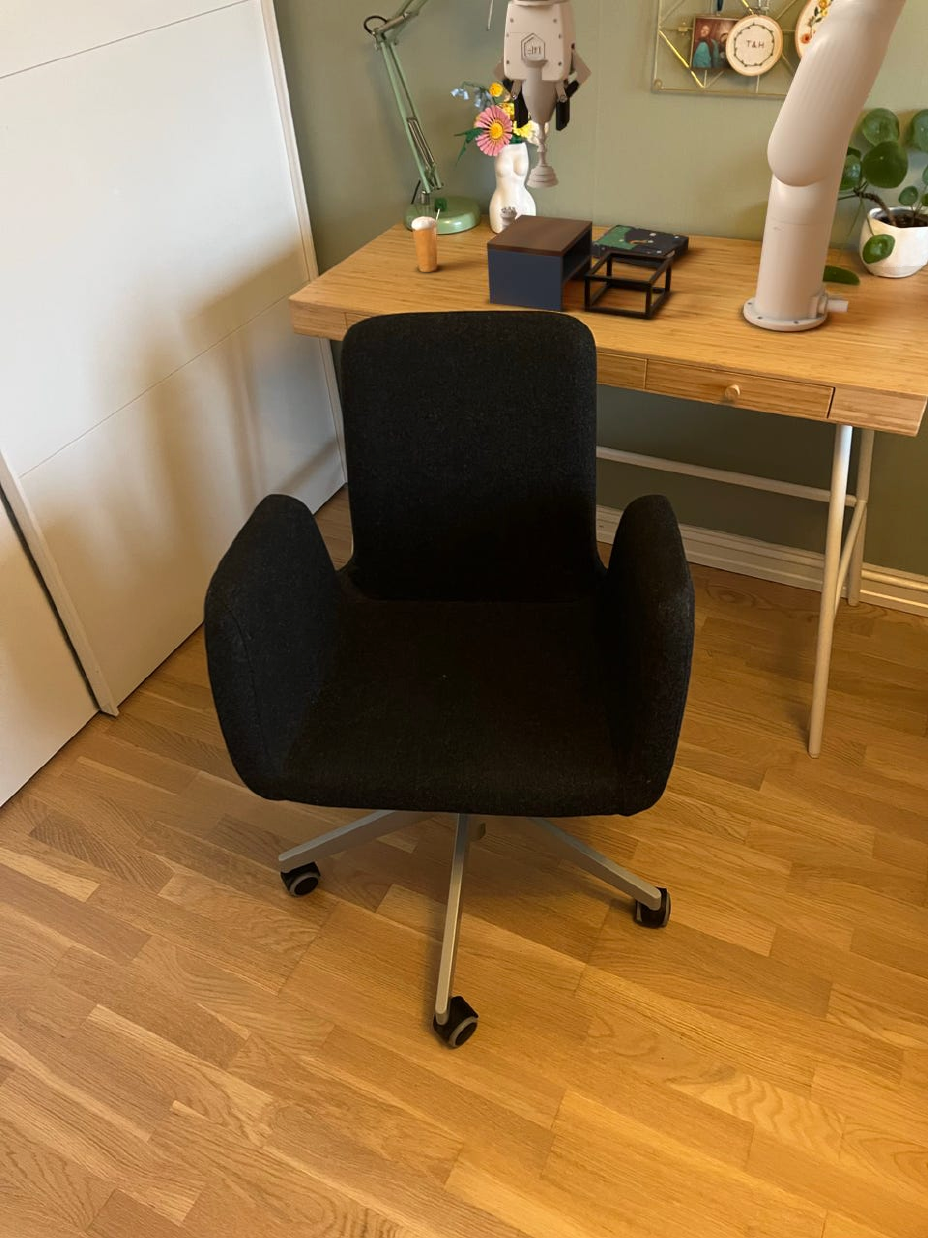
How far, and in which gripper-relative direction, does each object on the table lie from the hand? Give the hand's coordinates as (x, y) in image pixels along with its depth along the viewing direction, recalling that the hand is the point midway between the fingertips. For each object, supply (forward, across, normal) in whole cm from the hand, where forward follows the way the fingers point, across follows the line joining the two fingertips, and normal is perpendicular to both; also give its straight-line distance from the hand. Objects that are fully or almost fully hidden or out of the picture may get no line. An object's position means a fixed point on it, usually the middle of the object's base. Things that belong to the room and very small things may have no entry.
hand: (541, 125), depth 148 cm
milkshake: (+26, -24, +4) cm, 36 cm away
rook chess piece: (+26, -13, +14) cm, 33 cm away
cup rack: (+26, +15, 0) cm, 30 cm away
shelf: (+26, 0, 0) cm, 26 cm away
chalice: (+9, 0, 0) cm, 9 cm away
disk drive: (+26, +10, +20) cm, 35 cm away
